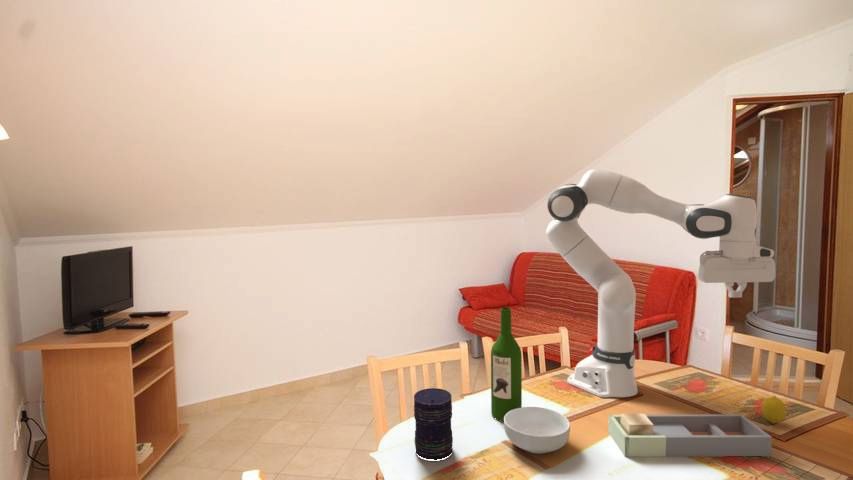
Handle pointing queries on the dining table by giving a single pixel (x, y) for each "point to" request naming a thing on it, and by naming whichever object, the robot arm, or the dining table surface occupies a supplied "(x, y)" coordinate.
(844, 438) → the dining table surface
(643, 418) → the block
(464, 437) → the dining table surface
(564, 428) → the cereal bowl
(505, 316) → the wine bottle
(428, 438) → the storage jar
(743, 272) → the robot arm
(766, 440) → the tray
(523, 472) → the dining table surface
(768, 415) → the lemon
